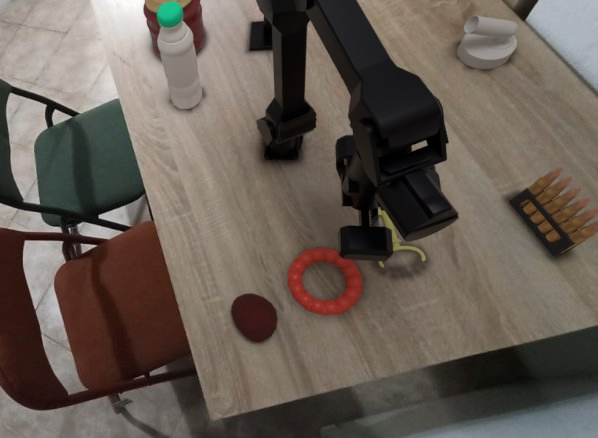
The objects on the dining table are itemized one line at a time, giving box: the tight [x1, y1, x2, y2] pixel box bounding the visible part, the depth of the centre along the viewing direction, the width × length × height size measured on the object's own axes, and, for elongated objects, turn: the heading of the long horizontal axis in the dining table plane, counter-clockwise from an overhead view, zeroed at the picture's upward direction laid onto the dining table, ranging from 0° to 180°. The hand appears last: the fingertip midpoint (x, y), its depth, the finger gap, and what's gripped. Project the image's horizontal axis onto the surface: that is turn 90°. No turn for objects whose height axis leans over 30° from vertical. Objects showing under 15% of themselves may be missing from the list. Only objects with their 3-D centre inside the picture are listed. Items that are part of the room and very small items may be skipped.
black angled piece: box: [249, 15, 273, 52], centre depth 99 cm, size 8×8×8 cm
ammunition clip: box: [508, 166, 598, 257], centre depth 66 cm, size 11×2×12 cm, turn 16°
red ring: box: [287, 247, 363, 316], centre depth 76 cm, size 12×12×2 cm
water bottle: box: [157, 1, 203, 110], centre depth 90 cm, size 7×7×25 cm
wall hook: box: [456, 15, 519, 70], centre depth 82 cm, size 9×10×10 cm
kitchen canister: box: [142, 0, 206, 59], centre depth 101 cm, size 13×13×18 cm
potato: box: [230, 292, 279, 343], centre depth 75 cm, size 7×8×6 cm
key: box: [377, 207, 427, 268], centre depth 76 cm, size 7×12×2 cm, turn 23°
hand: (350, 219), depth 69 cm, fingers open, 9 cm apart
